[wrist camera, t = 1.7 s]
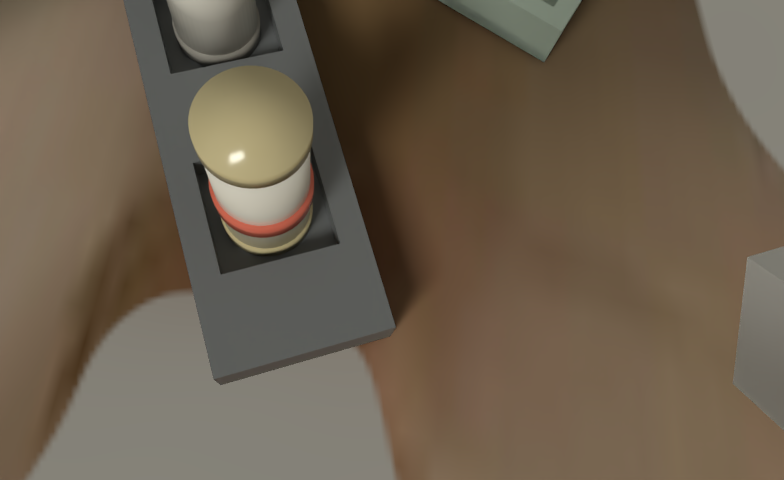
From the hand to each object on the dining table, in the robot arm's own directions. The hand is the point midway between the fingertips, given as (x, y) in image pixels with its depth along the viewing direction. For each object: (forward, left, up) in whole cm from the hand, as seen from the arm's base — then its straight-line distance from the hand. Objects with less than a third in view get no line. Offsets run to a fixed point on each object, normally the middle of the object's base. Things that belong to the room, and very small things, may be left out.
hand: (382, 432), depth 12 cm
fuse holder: (-12, +11, -22) cm, 28 cm away
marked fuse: (-8, +7, -21) cm, 24 cm away
